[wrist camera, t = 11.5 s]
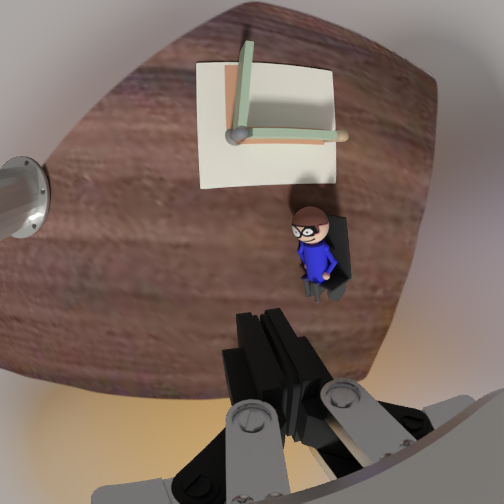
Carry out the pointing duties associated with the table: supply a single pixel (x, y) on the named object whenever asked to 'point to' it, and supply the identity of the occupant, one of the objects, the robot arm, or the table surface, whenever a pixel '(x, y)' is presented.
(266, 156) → the card
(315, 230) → the character figurine
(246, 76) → the hinged fence panel
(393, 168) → the table surface
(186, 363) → the table surface
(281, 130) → the fixed fence panel
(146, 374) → the table surface
